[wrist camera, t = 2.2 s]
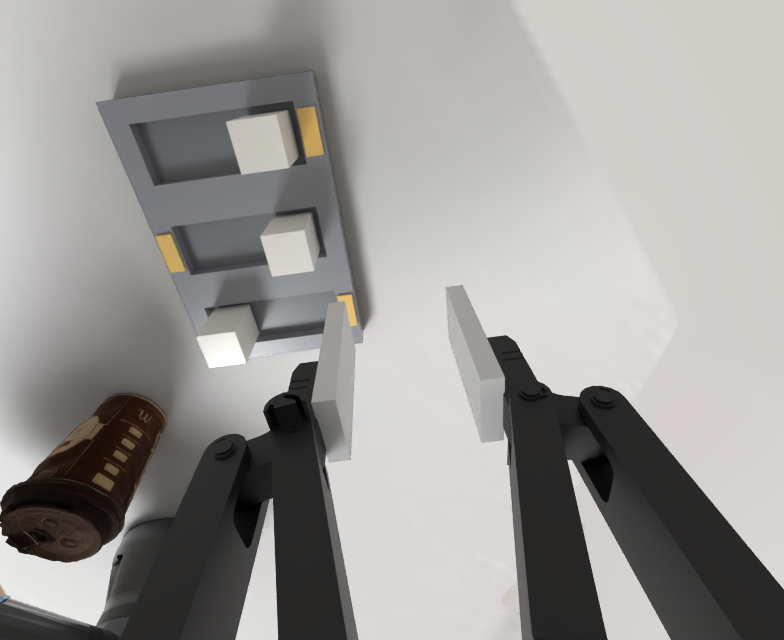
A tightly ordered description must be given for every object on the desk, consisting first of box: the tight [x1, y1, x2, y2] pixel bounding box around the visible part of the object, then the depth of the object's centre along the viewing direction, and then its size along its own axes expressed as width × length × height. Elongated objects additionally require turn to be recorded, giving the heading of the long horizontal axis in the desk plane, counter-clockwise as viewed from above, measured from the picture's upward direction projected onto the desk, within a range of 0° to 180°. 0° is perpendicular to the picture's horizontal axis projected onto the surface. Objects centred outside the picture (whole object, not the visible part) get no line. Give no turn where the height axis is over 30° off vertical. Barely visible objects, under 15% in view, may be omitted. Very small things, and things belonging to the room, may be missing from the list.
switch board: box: [96, 71, 363, 358], centre depth 32 cm, size 14×21×2 cm, turn 7°
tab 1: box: [196, 304, 259, 368], centre depth 34 cm, size 3×3×4 cm
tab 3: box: [260, 212, 320, 277], centre depth 30 cm, size 3×3×4 cm
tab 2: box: [226, 110, 299, 175], centre depth 27 cm, size 3×3×4 cm
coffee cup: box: [0, 394, 167, 563], centre depth 37 cm, size 9×8×13 cm
